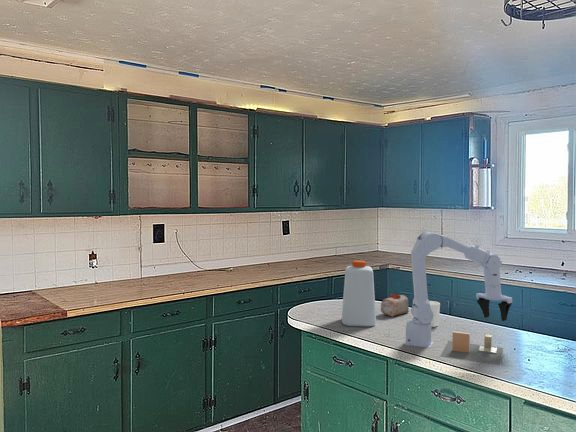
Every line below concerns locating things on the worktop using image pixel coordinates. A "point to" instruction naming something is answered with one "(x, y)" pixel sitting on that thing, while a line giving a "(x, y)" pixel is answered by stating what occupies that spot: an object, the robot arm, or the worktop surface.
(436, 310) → the white cup
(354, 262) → the plastic bottle
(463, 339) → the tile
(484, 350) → the beige blocky piece
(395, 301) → the food item
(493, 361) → the mat
